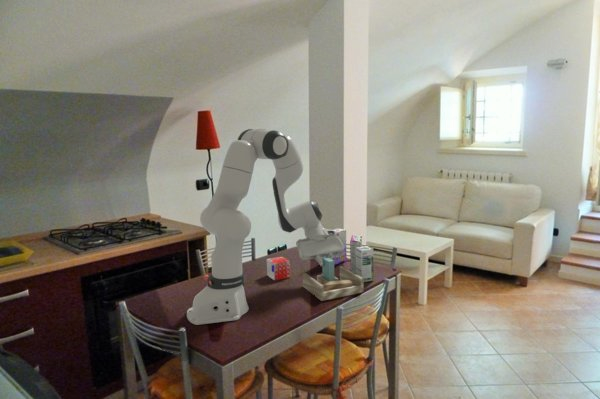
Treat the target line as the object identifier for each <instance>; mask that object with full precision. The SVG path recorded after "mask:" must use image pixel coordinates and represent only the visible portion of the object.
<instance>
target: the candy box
mask: <svg viewBox="0 0 600 399" xmlns="http://www.w3.org/2000/svg"><path fill="white" fill-rule="evenodd" d="M333 230H334V231H336V233H337V234H336V236H338V237H339V238H340V240H341V242H342V244H343V246H344V251H343V252H342V253H341V254H337V255H333V258H332V260H333V261H334V266H336V265H339V264H342V263H345V262H347V261H348V260H347V230H346V229H343V228H340V227H339V228H335V229H333ZM325 257H328V256H325ZM325 257H320V259H321V260H322V258H325ZM318 264H319V265H320V263H319V262H318Z"/></svg>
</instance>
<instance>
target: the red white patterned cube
mask: <svg viewBox="0 0 600 399" xmlns="http://www.w3.org/2000/svg"><path fill="white" fill-rule="evenodd" d="M266 274H267V276H268V277H269V278H270V279H272V280H273V281H278V280H279V281H280V280H285V279H288V278H291V261H290V260H289V259H288V258H286V257H284V256H277V257H271V258H266Z"/></svg>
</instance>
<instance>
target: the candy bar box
mask: <svg viewBox="0 0 600 399" xmlns="http://www.w3.org/2000/svg"><path fill="white" fill-rule="evenodd" d="M349 246H350V247H349V252H350V253H349V255H350V257H349V258H350V271H352V272H353V273H355V274H356V247H363V235H362V234H361V235H360V234H358V235H357V234H356V235H355V234H352V235H351V236H350V242H349Z"/></svg>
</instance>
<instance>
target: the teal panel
mask: <svg viewBox="0 0 600 399" xmlns="http://www.w3.org/2000/svg"><path fill="white" fill-rule="evenodd" d="M322 261H324V263H325V265H324V266H321V268H322V273H321V275H322V276H323V278H324V279H326V280H327V281H334V276H335V265H334V261H333V260H332V259H330V258H328V257H325V258H322Z"/></svg>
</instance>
